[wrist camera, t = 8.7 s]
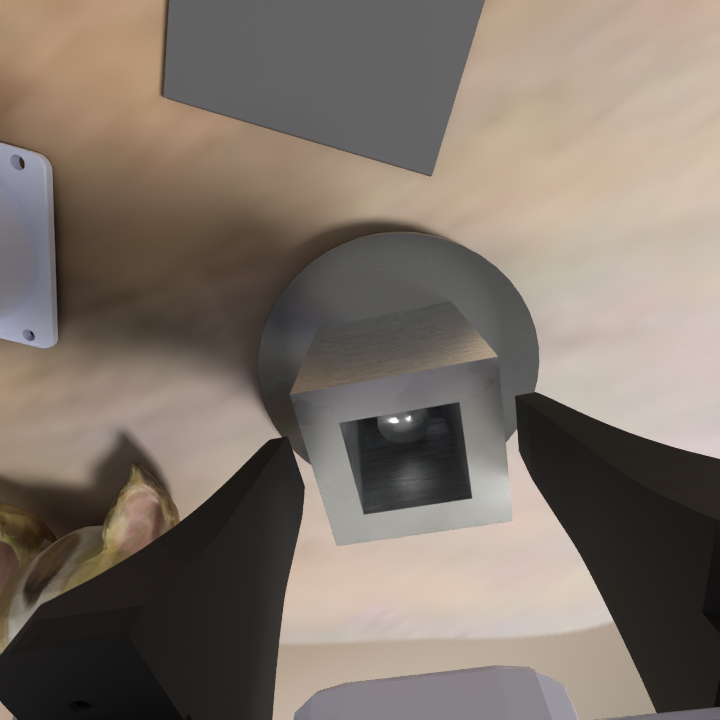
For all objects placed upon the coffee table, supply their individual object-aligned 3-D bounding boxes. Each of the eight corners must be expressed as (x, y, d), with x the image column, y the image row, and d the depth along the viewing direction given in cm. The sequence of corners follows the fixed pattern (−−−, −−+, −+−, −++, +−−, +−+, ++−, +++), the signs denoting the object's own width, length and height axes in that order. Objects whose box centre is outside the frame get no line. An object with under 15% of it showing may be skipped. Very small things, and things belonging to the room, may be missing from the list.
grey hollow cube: (347, 439, 18) (336, 546, 12) (317, 328, 16) (289, 394, 10) (466, 419, 17) (512, 521, 12) (451, 301, 15) (498, 356, 10)
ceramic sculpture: (-13, 849, 18) (-236, 610, 13) (109, 653, 26) (-2, 463, 21) (207, 830, 17) (50, 565, 12) (260, 633, 25) (179, 430, 20)
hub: (246, 444, 20) (211, 513, 15) (292, 195, 15) (261, 191, 11) (471, 496, 20) (498, 575, 16) (575, 275, 16) (652, 302, 12)
